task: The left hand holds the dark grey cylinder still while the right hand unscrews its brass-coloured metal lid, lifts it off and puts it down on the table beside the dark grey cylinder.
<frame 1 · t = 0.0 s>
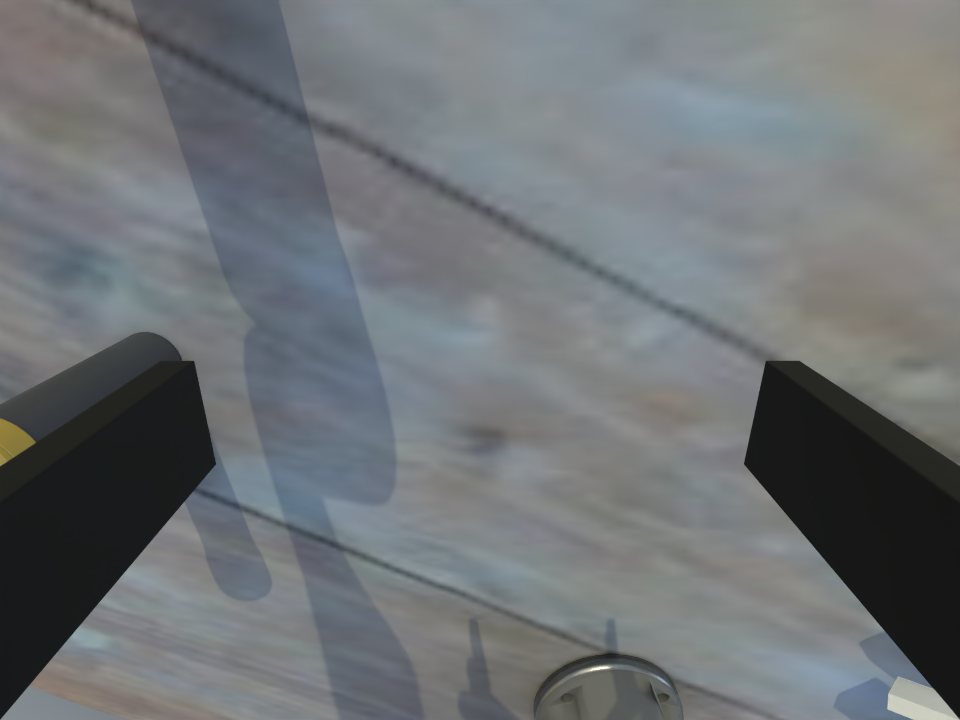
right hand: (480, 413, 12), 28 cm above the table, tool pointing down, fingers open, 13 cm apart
dark grey cylinder: (151, 360, 42), on the table
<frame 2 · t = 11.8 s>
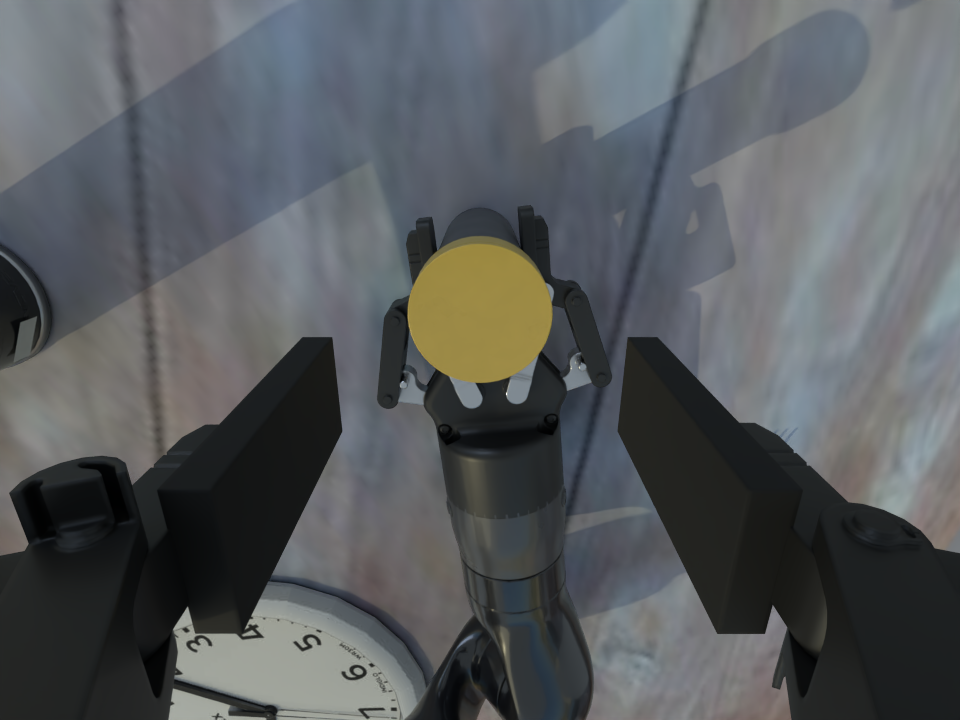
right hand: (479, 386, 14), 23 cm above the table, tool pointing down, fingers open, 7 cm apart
left hand: (475, 214, 28), fingers closed on dark grey cylinder, 4 cm apart
wall clock: (273, 699, 51), on the table
lid: (480, 314, 20), point 16 cm above the table, screwed on, not yet turned
dark grey cylinder: (480, 244, 35), on the table, touching left hand
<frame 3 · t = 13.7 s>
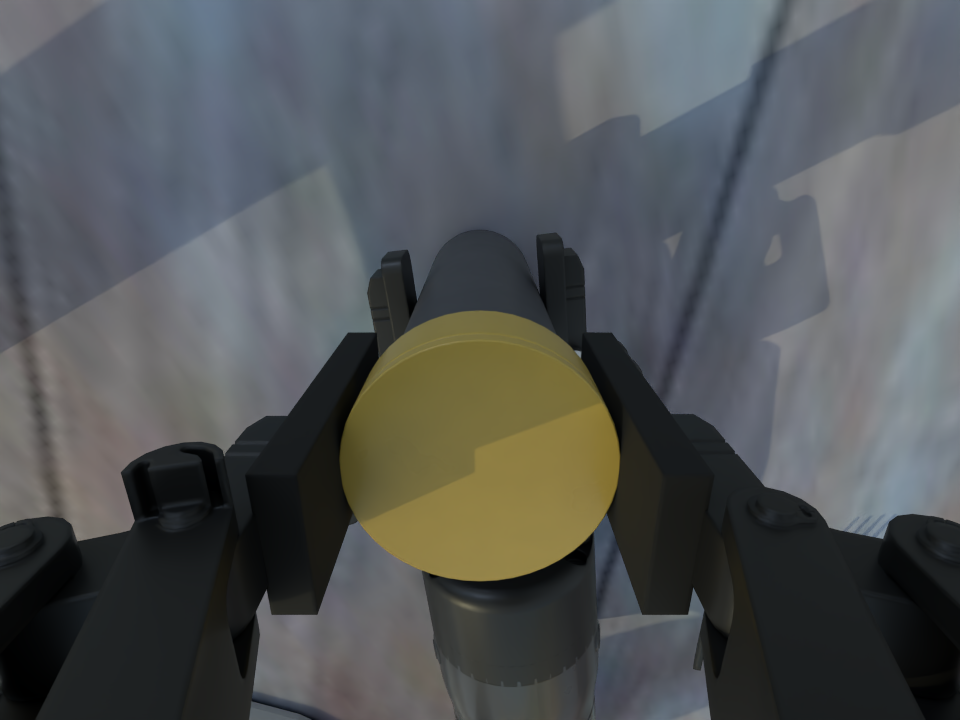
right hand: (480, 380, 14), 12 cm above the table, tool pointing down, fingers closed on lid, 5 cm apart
lid: (479, 462, 10), point 16 cm above the table, screwed on, not yet turned, touching right hand
dark grey cylinder: (480, 279, 25), on the table, touching left hand
when the right hand's fingers open (12 cm above the table, at t = 15.1 s): lid stays where it is, point 16 cm above the table.
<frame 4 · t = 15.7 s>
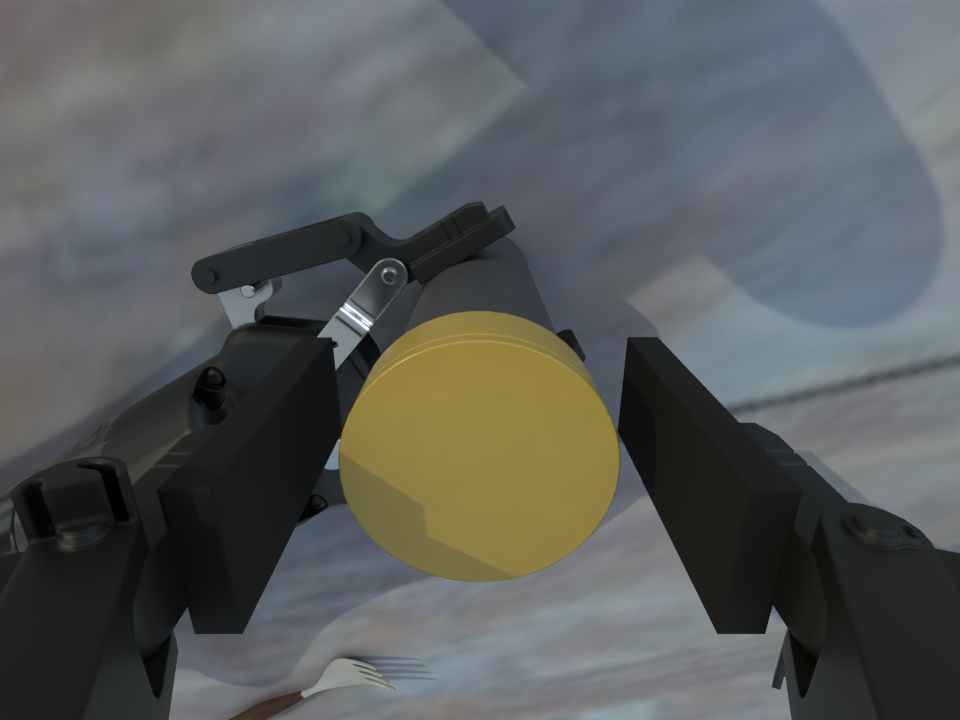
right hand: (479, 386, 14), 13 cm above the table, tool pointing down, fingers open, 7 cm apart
left hand: (543, 284, 19), fingers closed on dark grey cylinder, 4 cm apart
lid: (479, 463, 10), point 16 cm above the table, turned 107° so far, risen 0.3 cm, still on its thread
fork: (292, 690, 36), on the table
dark grey cylinder: (479, 278, 26), on the table, touching left hand
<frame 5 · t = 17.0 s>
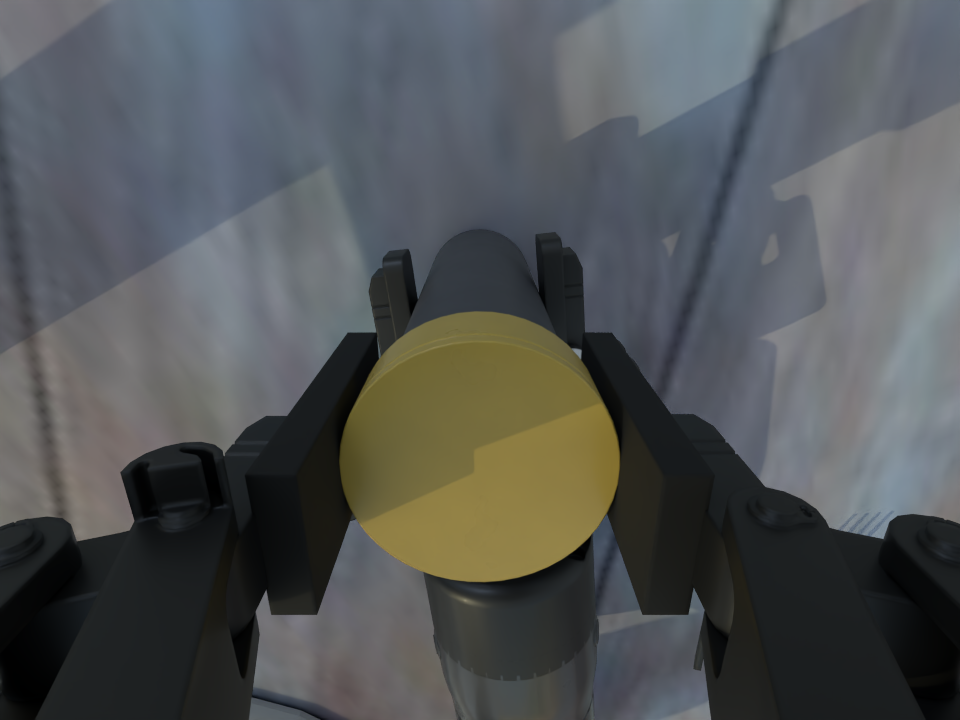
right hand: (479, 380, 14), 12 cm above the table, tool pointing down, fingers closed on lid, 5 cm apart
lid: (479, 463, 10), point 16 cm above the table, turned 107° so far, risen 0.3 cm, still on its thread, touching right hand
dark grey cylinder: (479, 278, 26), on the table, touching left hand
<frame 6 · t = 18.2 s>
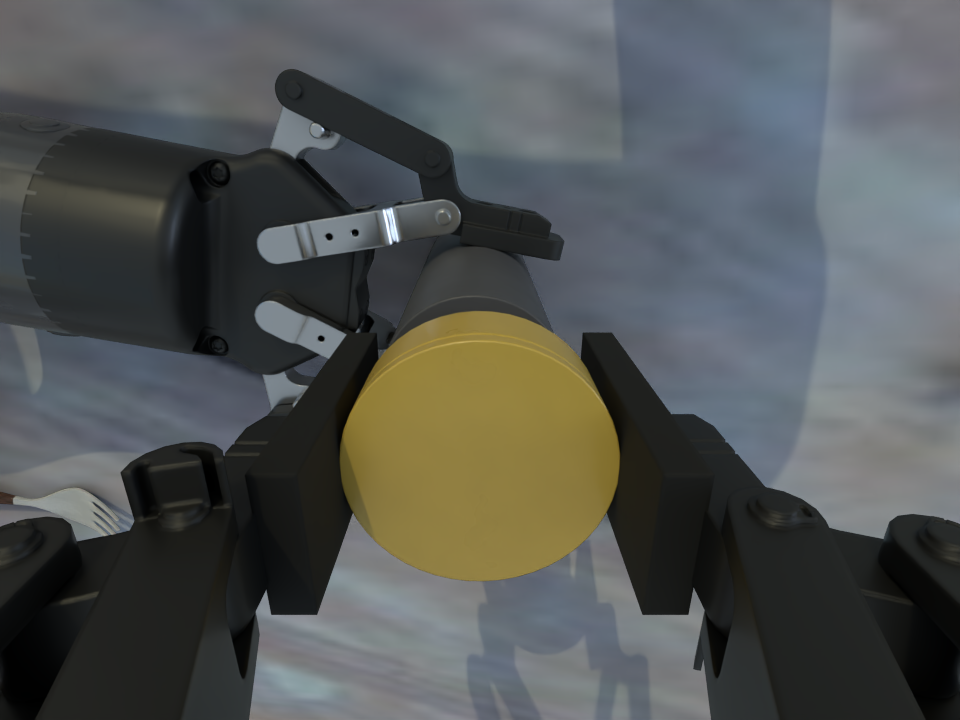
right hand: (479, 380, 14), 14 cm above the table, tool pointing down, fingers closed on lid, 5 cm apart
left hand: (541, 314, 21), fingers closed on dark grey cylinder, 4 cm apart
lid: (479, 463, 10), point 18 cm above the table, off its thread, touching right hand
fork: (4, 490, 32), on the table
dark grey cylinder: (475, 266, 27), on the table, touching left hand
when the right hand's fingers open (0 cm above the table, at t = 23.9 s): lid drops 3 cm, point 2 cm above the table.
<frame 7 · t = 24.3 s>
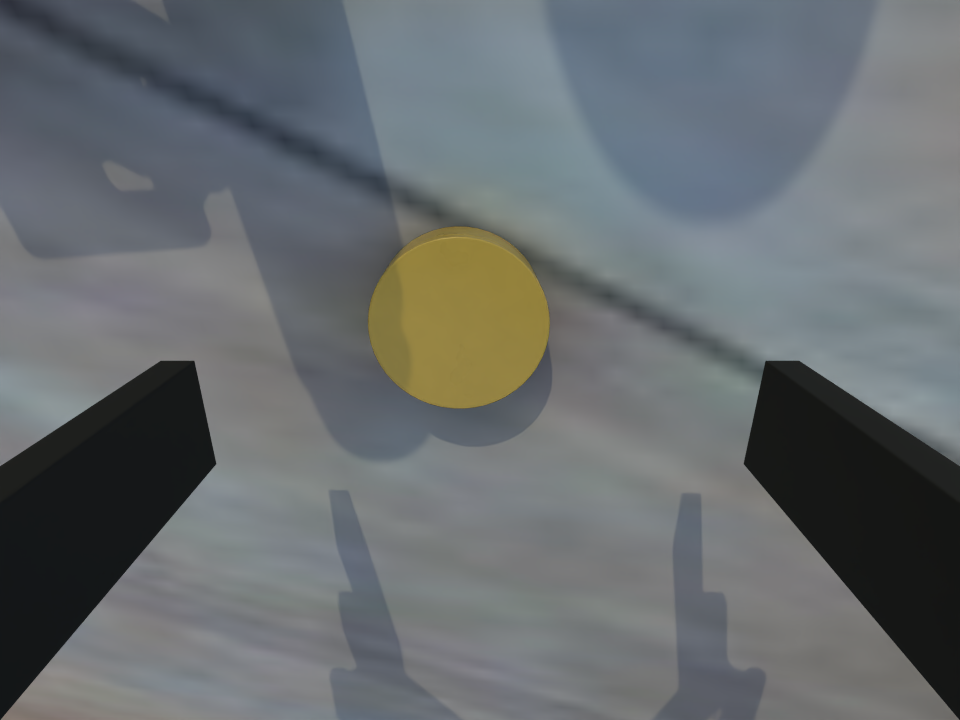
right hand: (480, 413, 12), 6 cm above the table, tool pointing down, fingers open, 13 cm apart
lid: (459, 324, 16), point 2 cm above the table, off its thread
when the left hand's fingers open (7 cm above the table, at t = 24.6 s): dark grey cylinder stays where it is, on the table.
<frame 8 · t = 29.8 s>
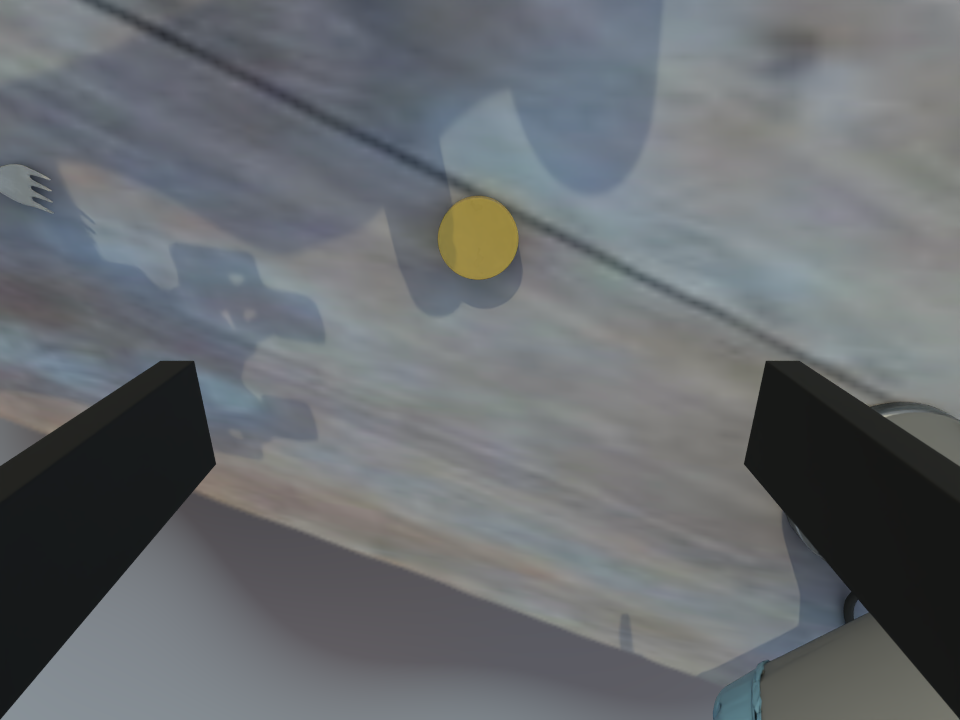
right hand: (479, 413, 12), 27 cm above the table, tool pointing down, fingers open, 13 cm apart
lid: (478, 239, 36), point 2 cm above the table, off its thread
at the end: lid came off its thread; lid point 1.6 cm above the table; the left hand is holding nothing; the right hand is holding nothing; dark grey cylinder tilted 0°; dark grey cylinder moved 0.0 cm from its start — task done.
